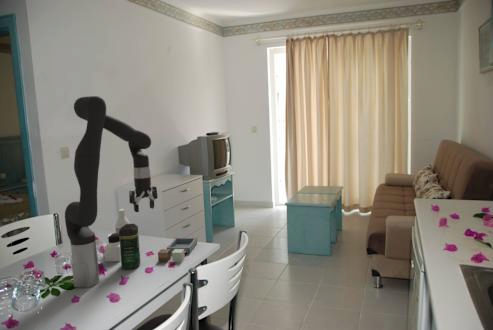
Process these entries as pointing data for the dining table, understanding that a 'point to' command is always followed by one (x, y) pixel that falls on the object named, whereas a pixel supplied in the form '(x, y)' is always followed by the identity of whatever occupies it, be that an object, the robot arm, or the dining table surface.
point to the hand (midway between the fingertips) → (144, 210)
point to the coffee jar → (129, 246)
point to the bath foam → (121, 220)
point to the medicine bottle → (113, 248)
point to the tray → (183, 244)
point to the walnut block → (164, 255)
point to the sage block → (178, 255)
